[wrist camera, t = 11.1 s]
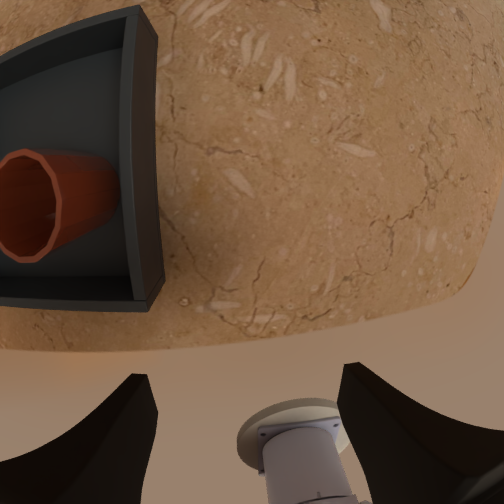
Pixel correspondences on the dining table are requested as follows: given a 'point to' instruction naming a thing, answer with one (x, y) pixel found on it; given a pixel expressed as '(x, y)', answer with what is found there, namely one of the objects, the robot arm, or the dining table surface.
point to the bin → (94, 141)
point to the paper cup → (53, 200)
